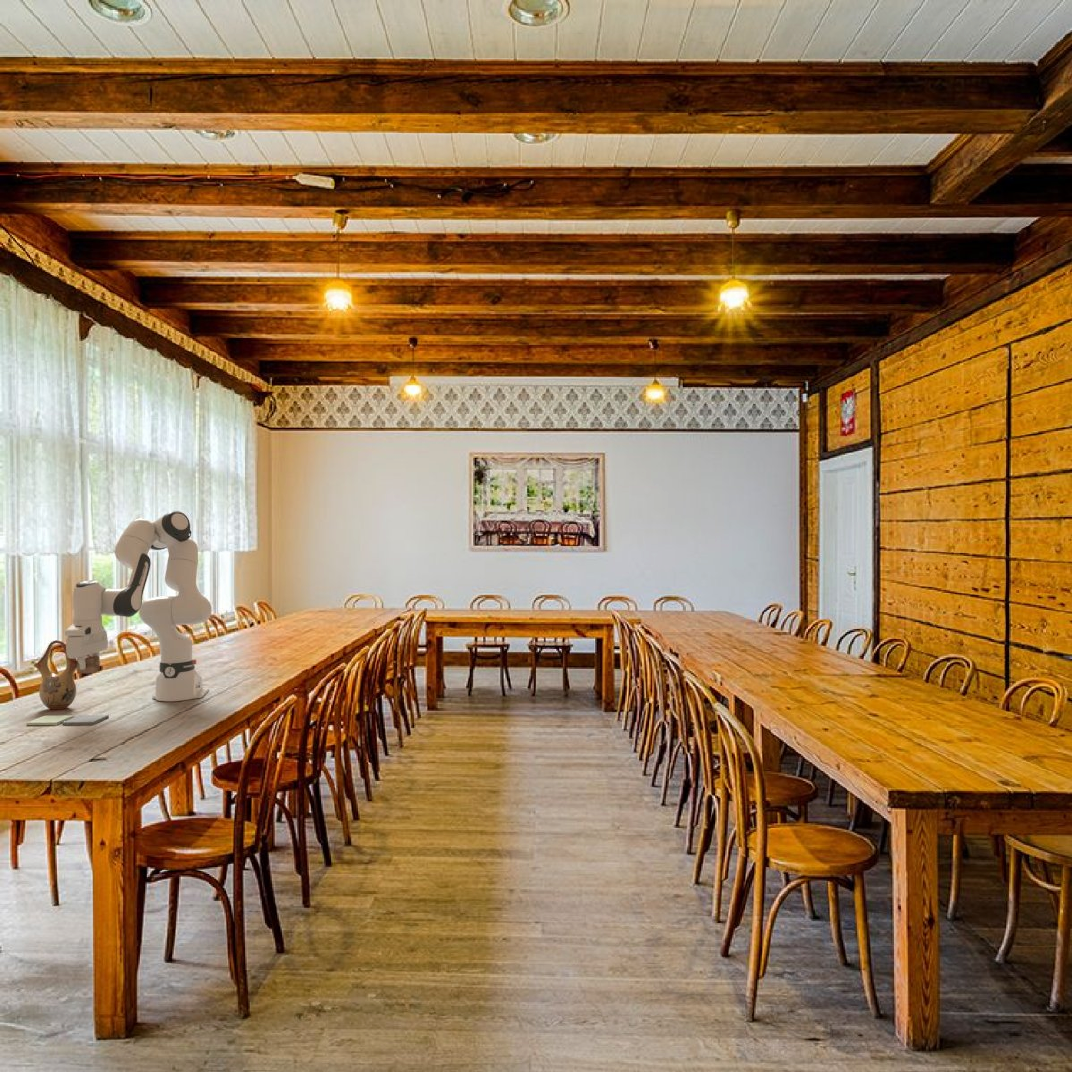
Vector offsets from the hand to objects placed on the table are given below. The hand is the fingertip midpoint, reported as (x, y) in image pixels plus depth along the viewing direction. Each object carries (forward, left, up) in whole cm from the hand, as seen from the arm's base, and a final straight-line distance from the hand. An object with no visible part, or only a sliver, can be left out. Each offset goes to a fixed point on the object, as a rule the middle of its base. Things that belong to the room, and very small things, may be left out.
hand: (88, 667), depth 279 cm
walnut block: (0, 0, -2) cm, 2 cm away
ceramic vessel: (-12, -18, -17) cm, 28 cm away
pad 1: (+8, -9, -17) cm, 21 cm away
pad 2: (+8, +3, -17) cm, 19 cm away
